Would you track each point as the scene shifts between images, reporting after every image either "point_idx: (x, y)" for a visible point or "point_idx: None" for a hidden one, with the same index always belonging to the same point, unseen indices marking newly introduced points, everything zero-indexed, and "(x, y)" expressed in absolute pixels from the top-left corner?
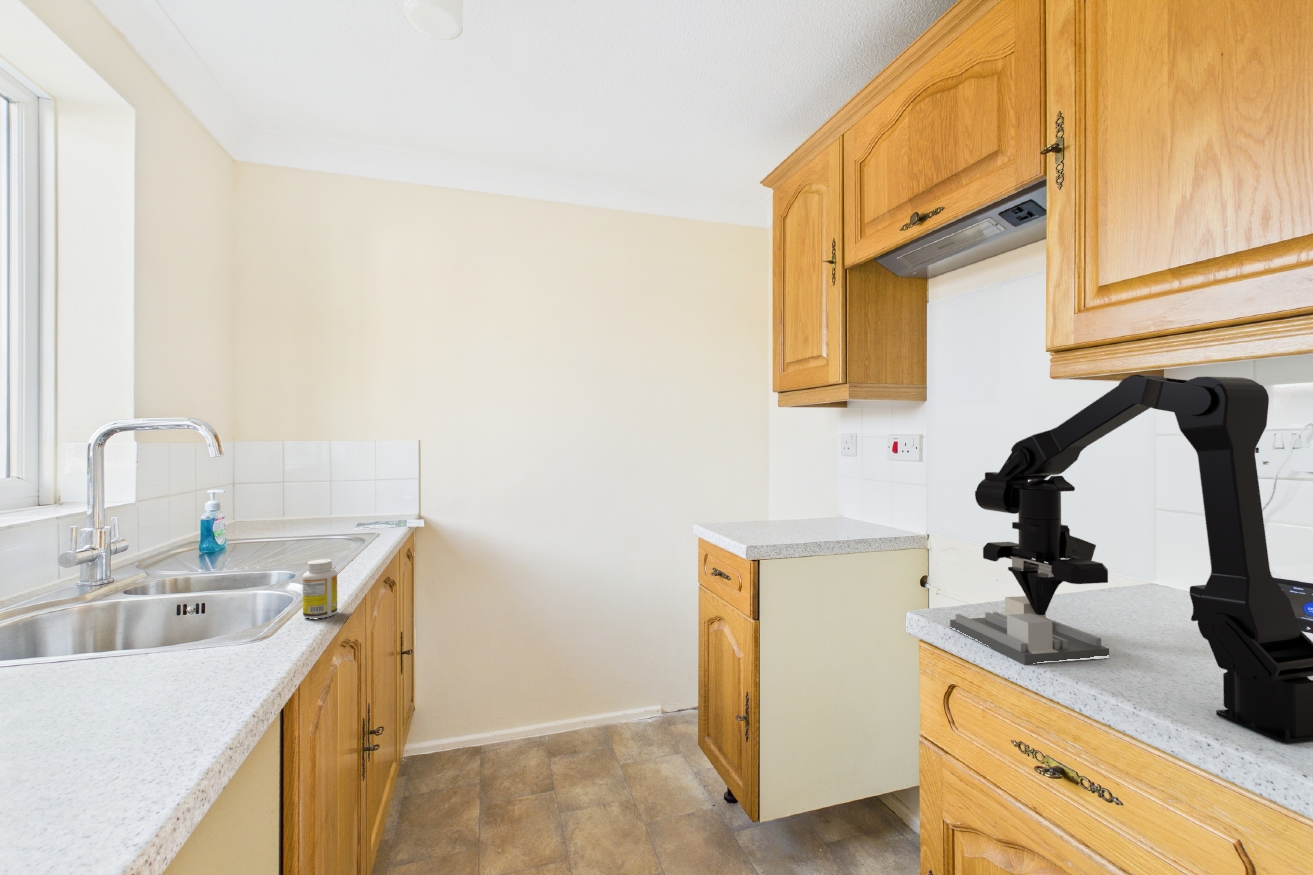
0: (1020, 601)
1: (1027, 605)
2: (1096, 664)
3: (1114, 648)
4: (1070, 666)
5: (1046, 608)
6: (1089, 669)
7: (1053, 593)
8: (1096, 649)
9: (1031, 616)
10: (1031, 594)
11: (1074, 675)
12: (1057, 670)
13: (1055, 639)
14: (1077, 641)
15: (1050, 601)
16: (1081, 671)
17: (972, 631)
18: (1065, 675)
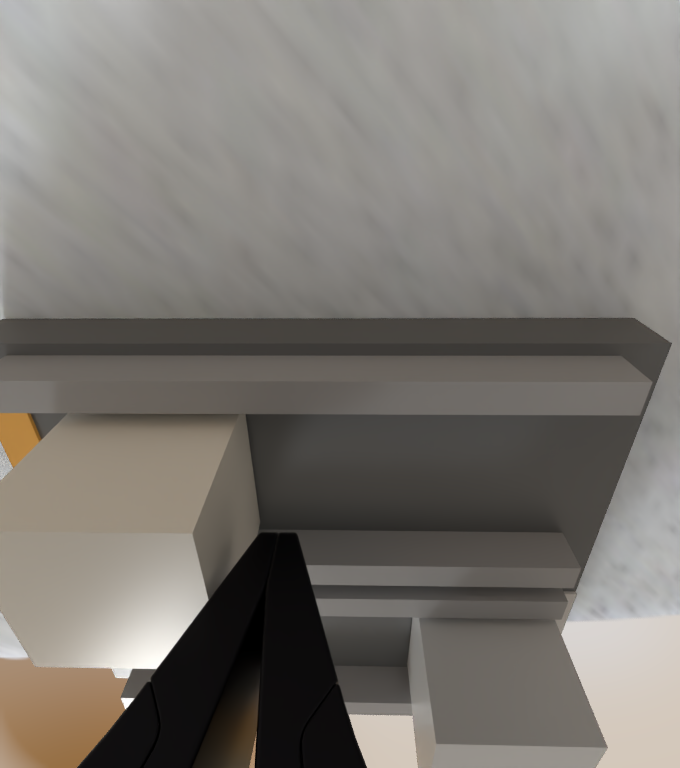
0: (158, 653)
1: None
2: (644, 438)
3: (531, 95)
4: (603, 540)
5: (306, 575)
6: (661, 504)
7: (349, 723)
8: (638, 421)
9: (488, 765)
10: (247, 758)
11: (664, 583)
12: (605, 597)
13: (543, 602)
14: (505, 418)
15: (322, 625)
16: (656, 541)
17: None
18: (647, 604)
